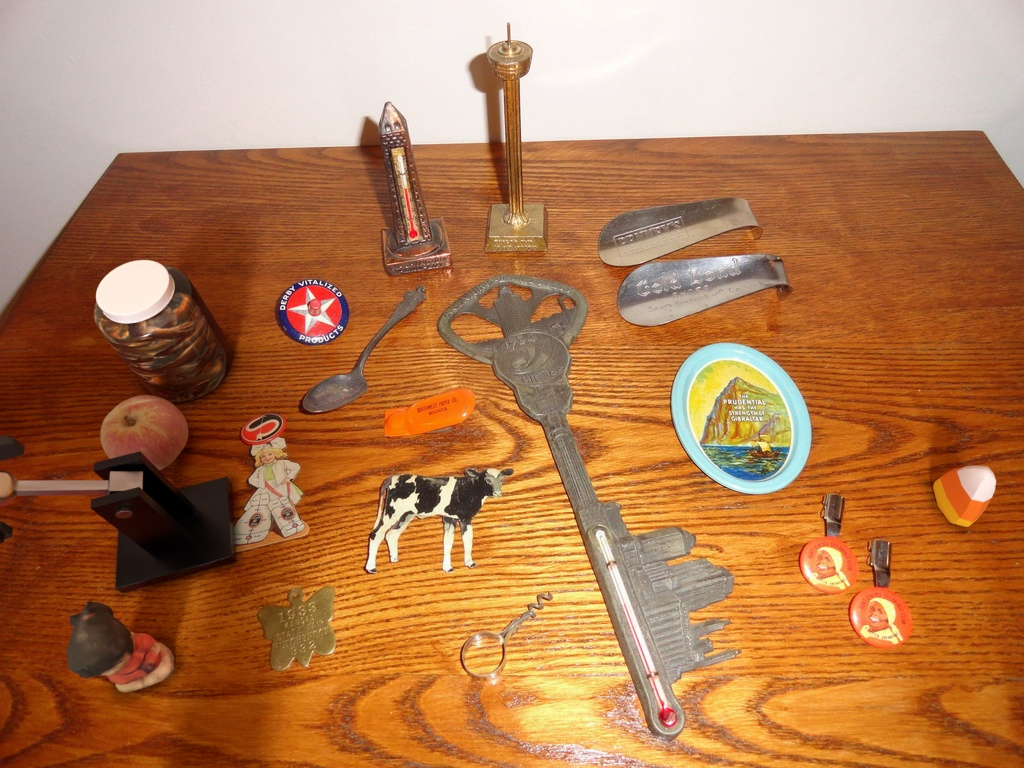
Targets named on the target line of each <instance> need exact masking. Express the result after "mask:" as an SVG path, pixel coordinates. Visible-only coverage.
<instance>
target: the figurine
mask: <svg viewBox="0 0 1024 768" xmlns="http://www.w3.org/2000/svg"><path fill="white" fill-rule="evenodd" d="M114 615H115V614H114V611H113V609H112V608H111V606H109V605H107V604H105V603H101V602H98V601H92V600H90V601H86V603H85V605H84V607H83V608H82V610H81V612H79V613H78V614H74V615H69V625H70V626H72V627H73V628H72V632H71V634H70V635H71V636H70V638H69V643H68V644H67V645H68V646H67V650H66V656H67V665H68V667H67V668H68V670H69V671H71V672H72V673H74V674H77V675H78V676H79V677H80V678H83V679H87V680H88V679H90V678H92V677H100V676H105V677H107V679H108V680H109V681H110V682H111V683H113V684H114V685H115V689H117V690H118V692H120V693H131V692H134V691H139V690H142V689H146V688H149V687H151V686H153V685H156V684H158V683H161V682H163V681H164V680H167V679H168V678H170V677H171V676H172V675H173V673H174V670H175V659H176V658H175V656H174V653H173V652H172V651H171V650H170V648H168V647H167V645H165V643H163V642H159V641H157V640H156V639H155V638H153V636H152V635H150V634H147V633H144V632H139V633H137V632H136V633H134V632H133V631H130V630H129V629H128V628H127V626H126V625H125V624H124V623H123V622H121V620H119V618H117V617H115V616H114Z"/></svg>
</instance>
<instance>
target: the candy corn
mask: <svg viewBox="0 0 1024 768" xmlns="http://www.w3.org/2000/svg"><path fill="white" fill-rule="evenodd" d="M996 485H997V479H996V476H995V473H994V472H993V471H992V470H991V468H990V467H989V466H987V465H986V466H985V465H967V466H966V465H965V466H961V467H956V468H953V469H950V470H949V471H947V472H945V473H944V474H943V475H941V477H939V478H938V479H936V480H935V481H934V483H933V485H932V489H933V494H934V495H935V496H934V497H935V501H936V505H937V508H938V509H939V510H940V511H941V513H942V514H943V515H944V517H945V518H946V519H947V520H948V522H949V523H950V524H953V525H958V526H960V527H965V528H969V527H970V526H971V525H973V524H974V523H975V522H976V521H977V520H978V519H979V518H981V516H982V515H983V513H984V512H985V511H986V509H987V508H988V505H989V504H990V502H991V500H992V498H993V496H994V493H995V491H996Z"/></svg>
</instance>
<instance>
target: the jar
mask: <svg viewBox="0 0 1024 768" xmlns="http://www.w3.org/2000/svg"><path fill="white" fill-rule="evenodd" d="M95 300H96V302H95V305H94V310H93V318H94V322H95V325H96V327H97V329H98V331H99V332H100V334H101V335H102V336H103V338H104V339H105V340H106V342H107V343H108V345H110V347H111V349H113V351H114V352H115V353H116V354H117V355H118V356H119V358H120V359H121V360H122V362H123V363H124V364H125V365H126V366H127V368H128V369H129V370H130V371H131V372H132V373H133V374H134V376H135V377H136V378H137V379H138V380H139V382H140V383H141V384H142V385H143V386H144V387H145V388H146V390H147V391H148V392H149V393H150V394H151V395H152V396H156V397H160V398H162V399H165V400H167V401H169V402H171V403H186V402H191V401H194V400H197V399H199V398H202V397H204V396H206V395H208V394H209V393H211V392H213V390H215V389H216V388H218V386H219V385H220V384H222V383H223V381H224V380H225V378H226V377H227V375H228V374H229V372H230V370H231V367H232V364H233V358H234V357H233V355H234V354H233V349H232V346H231V343H230V341H229V340H228V338H227V336H226V335H225V333H224V331H223V330H222V328H221V326H220V325H219V323H218V321H217V320H216V318H215V317H214V315H213V313H212V311H211V309H210V308H209V307H208V305H207V304H206V302H205V300H204V299H203V297H202V296H201V294H200V293H199V291H198V289H197V288H196V286H195V285H194V284H193V282H192V281H191V280H190V278H188V276H187V275H186V274H185V273H183V272H182V271H181V270H180V269H177V268H176V267H173V266H169V265H167V264H164V265H163V264H161V263H160V262H157V261H155V260H149V259H138V260H137V259H136V260H132V261H128V262H126V263H123V264H121V265H119V266H116V267H115V268H113V269H112V270H111V271H110V272H108V273H107V274H106V275H105V276H104V277H103V279H102V280H101V281H100V283H99V284H98V286H97V288H96V293H95Z"/></svg>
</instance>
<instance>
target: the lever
mask: <svg viewBox="0 0 1024 768" xmlns="http://www.w3.org/2000/svg"><path fill="white" fill-rule="evenodd" d="M136 487H140V488H141V489H142V490H143V471H110V476H109V480H103V479H61V480H60V479H55V480H54V479H53V480H51V479H48V480H47V479H45V480H43V479H42V480H41V479H40V480H39V479H38V480H36V479H35V480H34V479H33V480H32V479H31V480H30V479H29V480H28V479H26V480H25V479H23V480H22V479H18V478H17V477H16V475H14V474H13V473H11V472H10V471H7V470H1V469H0V507H3V506H5V505H8V504H10V503H11V502H13V501H14V500H15V498H17V497H33V496H34V497H37V496H38V497H41V496H43V497H44V496H45V497H46V496H49V497H50V496H106V495H109V494H113V493H117V492H121V491H125V490H129V489H133V488H136Z"/></svg>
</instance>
